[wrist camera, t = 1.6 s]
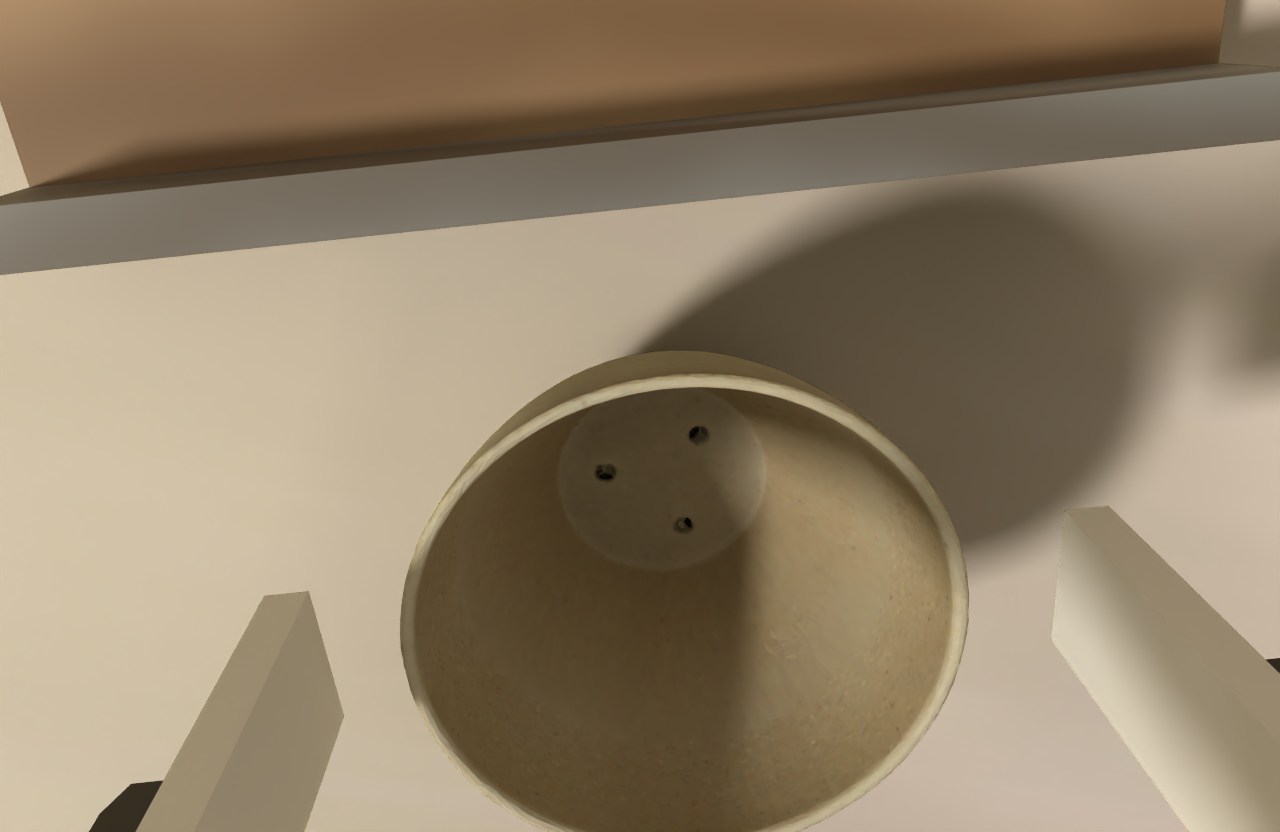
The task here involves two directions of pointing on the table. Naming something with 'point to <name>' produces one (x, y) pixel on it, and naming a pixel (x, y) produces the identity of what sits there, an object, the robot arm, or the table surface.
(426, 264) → the table surface
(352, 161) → the brown piece
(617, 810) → the flower pot
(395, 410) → the table surface
